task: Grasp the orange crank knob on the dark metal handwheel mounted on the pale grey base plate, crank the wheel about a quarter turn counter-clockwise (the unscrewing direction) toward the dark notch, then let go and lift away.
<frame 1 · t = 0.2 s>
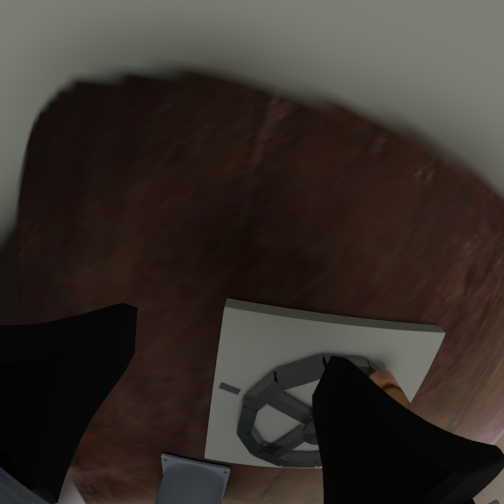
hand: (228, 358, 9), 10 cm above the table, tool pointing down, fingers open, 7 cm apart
handwheel: (325, 435, 17), point 4 cm above the table, hinge at -30.0°
base plate: (315, 404, 21), on the table
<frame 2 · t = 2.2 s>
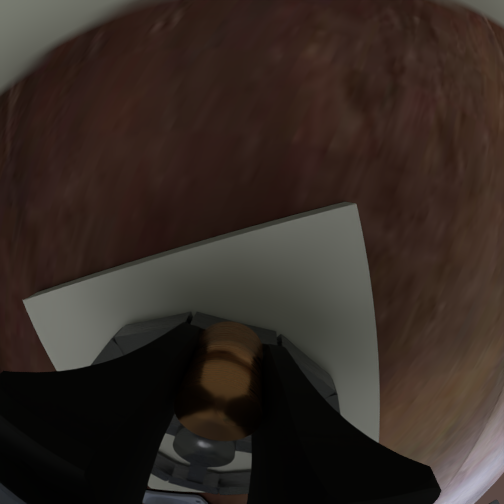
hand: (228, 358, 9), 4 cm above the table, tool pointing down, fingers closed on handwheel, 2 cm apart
handwheel: (202, 454, 10), point 4 cm above the table, hinge at -30.0°, touching gripper
base plate: (214, 402, 14), on the table
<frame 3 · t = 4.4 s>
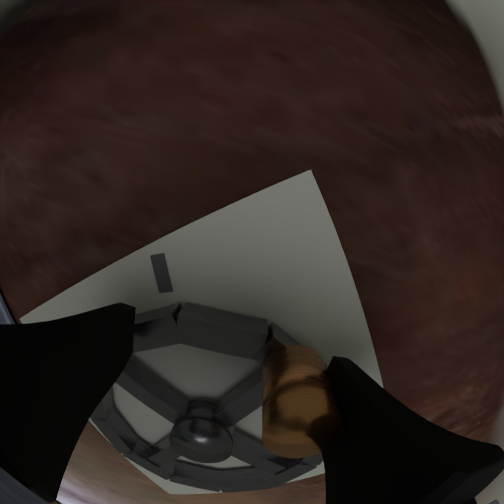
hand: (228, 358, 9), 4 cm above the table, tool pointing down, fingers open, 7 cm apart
handwheel: (202, 450, 10), point 4 cm above the table, hinge at 24.1°, touching gripper
base plate: (211, 398, 14), on the table
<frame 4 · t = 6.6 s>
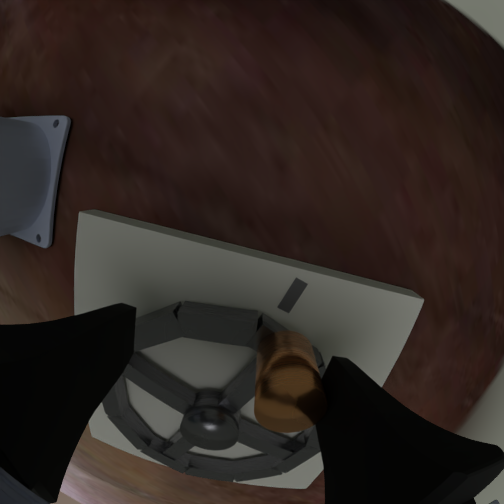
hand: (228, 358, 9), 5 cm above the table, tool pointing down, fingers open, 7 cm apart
handwheel: (210, 437, 11), point 4 cm above the table, hinge at 67.6°
base plate: (218, 390, 15), on the table
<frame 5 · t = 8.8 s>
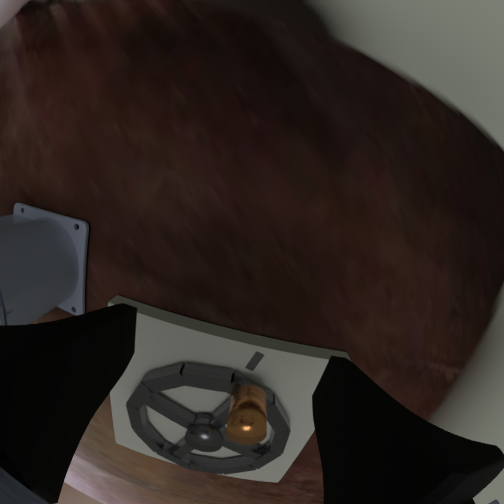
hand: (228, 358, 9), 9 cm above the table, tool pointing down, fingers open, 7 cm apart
handwheel: (204, 443, 17), point 4 cm above the table, hinge at 67.7°
base plate: (210, 411, 21), on the table
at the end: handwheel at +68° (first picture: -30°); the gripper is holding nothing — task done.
